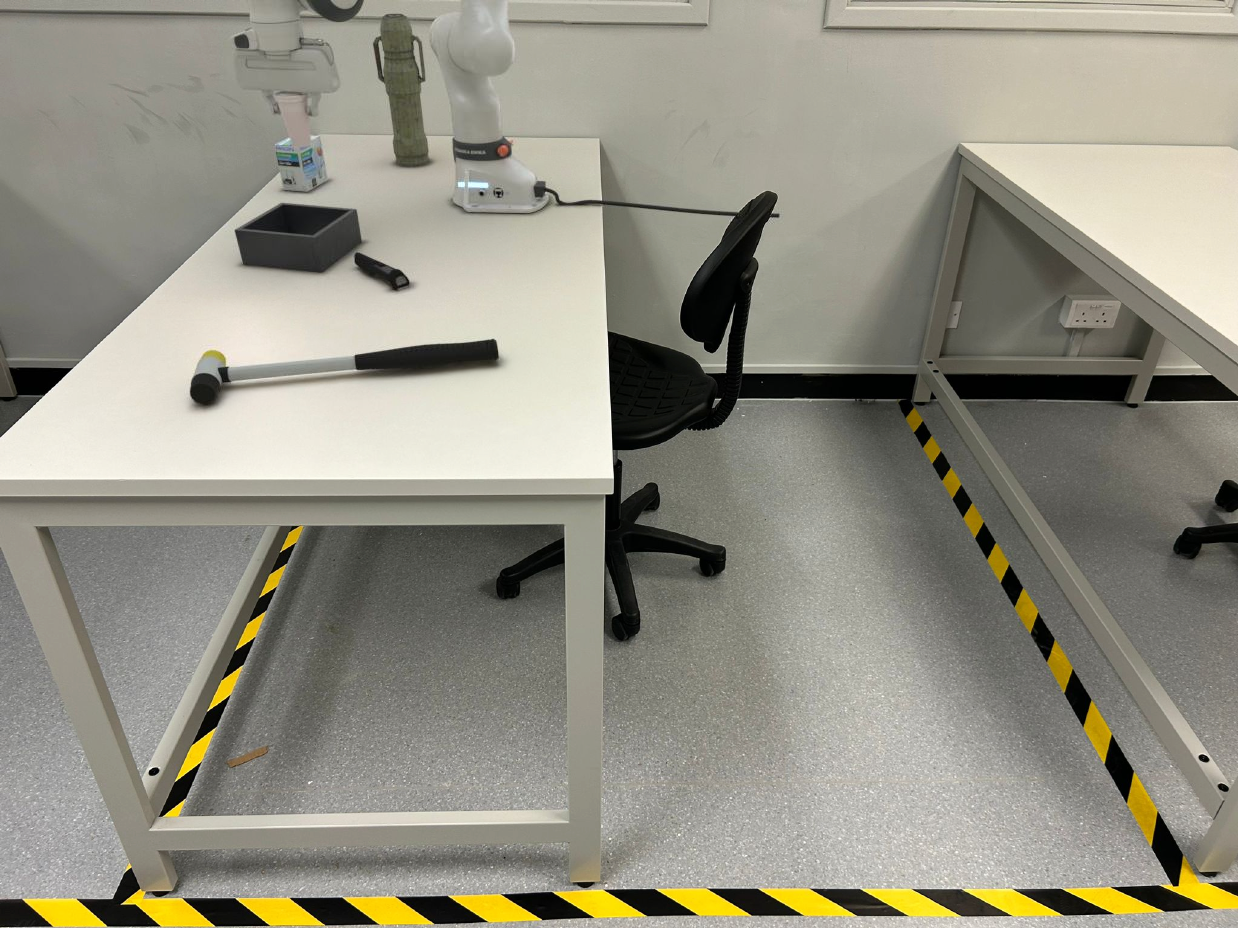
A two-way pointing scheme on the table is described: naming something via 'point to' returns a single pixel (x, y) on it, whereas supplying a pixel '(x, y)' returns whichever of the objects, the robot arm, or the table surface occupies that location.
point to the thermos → (403, 88)
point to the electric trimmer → (382, 271)
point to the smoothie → (295, 116)
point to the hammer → (335, 364)
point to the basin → (299, 237)
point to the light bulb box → (301, 165)
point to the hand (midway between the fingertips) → (295, 115)
